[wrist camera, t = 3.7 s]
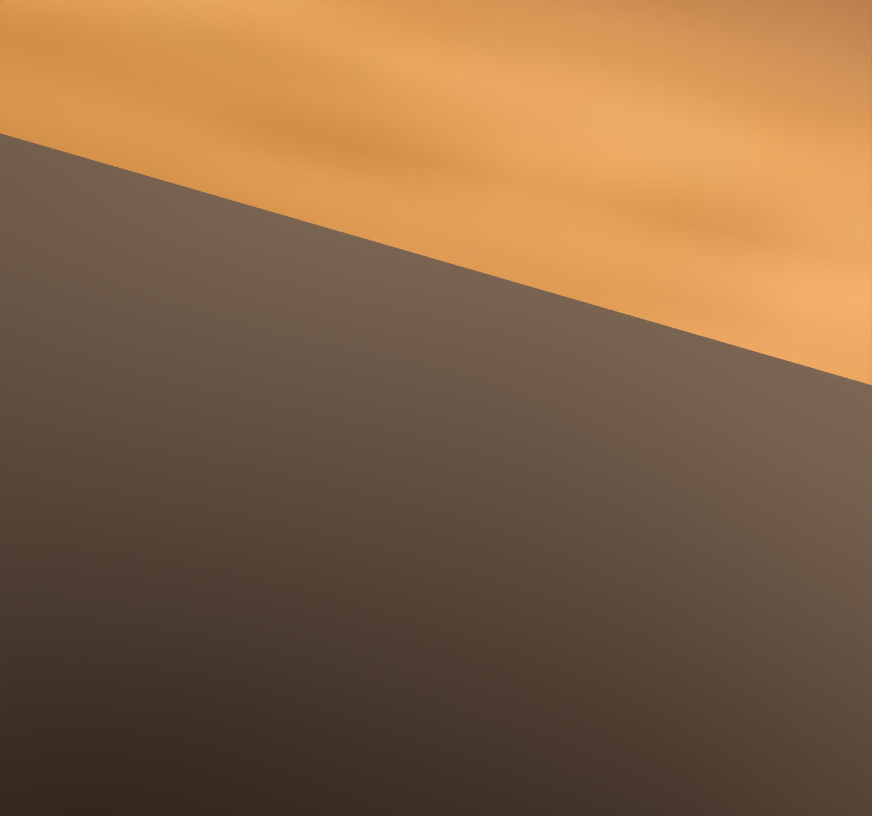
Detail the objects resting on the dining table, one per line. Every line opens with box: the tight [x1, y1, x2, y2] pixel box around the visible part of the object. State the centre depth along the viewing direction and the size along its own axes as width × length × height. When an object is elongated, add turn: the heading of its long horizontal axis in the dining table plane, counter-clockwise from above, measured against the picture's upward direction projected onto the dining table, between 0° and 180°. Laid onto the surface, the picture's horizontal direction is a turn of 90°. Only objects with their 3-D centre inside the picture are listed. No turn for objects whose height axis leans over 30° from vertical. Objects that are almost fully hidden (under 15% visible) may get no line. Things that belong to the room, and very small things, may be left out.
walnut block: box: [0, 134, 872, 816], centre depth 9 cm, size 5×5×13 cm
